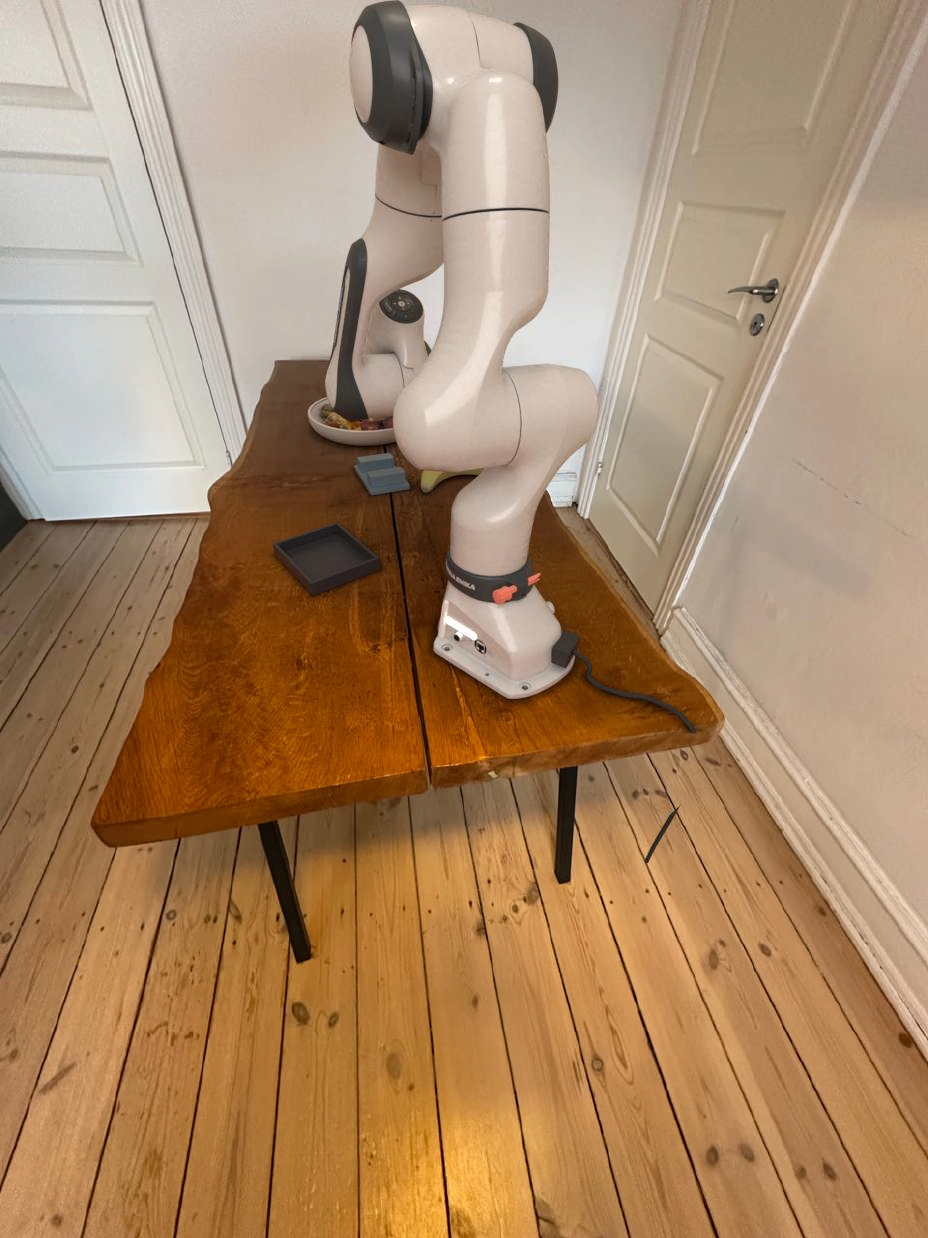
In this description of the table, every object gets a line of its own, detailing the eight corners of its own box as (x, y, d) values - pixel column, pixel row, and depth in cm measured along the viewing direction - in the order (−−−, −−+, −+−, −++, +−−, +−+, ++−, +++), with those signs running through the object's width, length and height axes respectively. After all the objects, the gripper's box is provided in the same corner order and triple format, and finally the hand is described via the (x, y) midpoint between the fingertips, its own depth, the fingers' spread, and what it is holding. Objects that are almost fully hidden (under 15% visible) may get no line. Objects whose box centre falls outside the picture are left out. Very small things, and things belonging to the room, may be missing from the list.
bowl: (289, 423, 149) (284, 393, 144) (380, 401, 165) (379, 374, 160) (350, 461, 132) (346, 429, 127) (444, 432, 148) (445, 403, 143)
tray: (380, 569, 98) (379, 557, 97) (313, 595, 92) (311, 583, 90) (339, 533, 107) (337, 521, 106) (274, 554, 101) (272, 543, 99)
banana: (424, 440, 125) (509, 452, 128) (422, 459, 130) (504, 470, 132) (421, 480, 118) (512, 492, 120) (419, 499, 122) (506, 510, 125)
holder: (410, 489, 122) (409, 474, 120) (371, 495, 119) (369, 480, 117) (390, 463, 132) (390, 449, 130) (354, 469, 129) (352, 454, 127)
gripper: (332, 383, 96) (326, 419, 109) (440, 373, 103) (423, 408, 116) (323, 349, 96) (319, 389, 110) (431, 341, 103) (415, 380, 116)
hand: (373, 399), depth 113 cm, fingers closed on tape, 3 cm apart
